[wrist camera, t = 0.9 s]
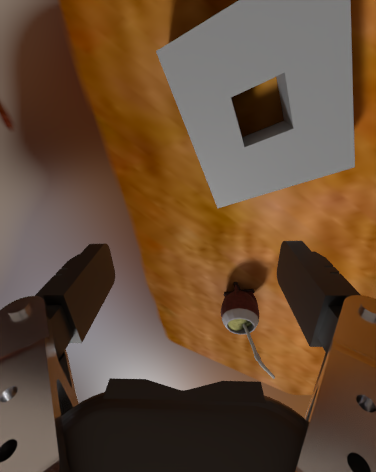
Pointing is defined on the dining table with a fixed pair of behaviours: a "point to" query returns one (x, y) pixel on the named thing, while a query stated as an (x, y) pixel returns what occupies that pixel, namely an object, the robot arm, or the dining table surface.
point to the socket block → (256, 72)
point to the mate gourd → (242, 315)
